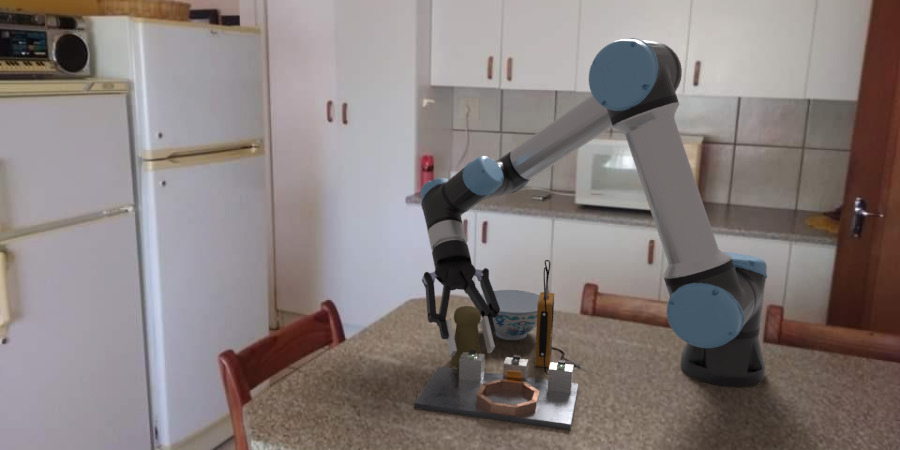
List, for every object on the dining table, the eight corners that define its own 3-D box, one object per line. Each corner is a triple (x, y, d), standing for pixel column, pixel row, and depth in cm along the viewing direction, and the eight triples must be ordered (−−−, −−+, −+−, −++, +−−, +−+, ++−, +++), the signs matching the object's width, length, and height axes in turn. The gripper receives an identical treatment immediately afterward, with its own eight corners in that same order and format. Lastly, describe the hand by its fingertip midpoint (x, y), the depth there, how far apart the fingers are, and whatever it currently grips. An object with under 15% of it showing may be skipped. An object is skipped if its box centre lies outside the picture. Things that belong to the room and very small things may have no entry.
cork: (486, 359, 142) (488, 305, 139) (474, 370, 136) (475, 315, 134) (458, 353, 144) (459, 301, 142) (445, 364, 139) (446, 310, 136)
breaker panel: (578, 388, 129) (579, 358, 128) (570, 429, 115) (572, 396, 113) (438, 371, 135) (438, 342, 134) (414, 408, 121) (414, 376, 119)
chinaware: (479, 320, 163) (480, 287, 161) (546, 324, 161) (548, 291, 159) (472, 345, 148) (473, 309, 147) (546, 350, 147) (547, 314, 145)
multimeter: (587, 381, 133) (593, 276, 128) (532, 375, 134) (537, 272, 130) (588, 350, 147) (594, 256, 142) (539, 346, 149) (543, 252, 144)
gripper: (490, 254, 154) (515, 354, 142) (399, 259, 148) (418, 364, 136) (499, 235, 147) (527, 339, 136) (405, 240, 142) (425, 348, 130)
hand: (472, 351), depth 136 cm, fingers open, 7 cm apart
